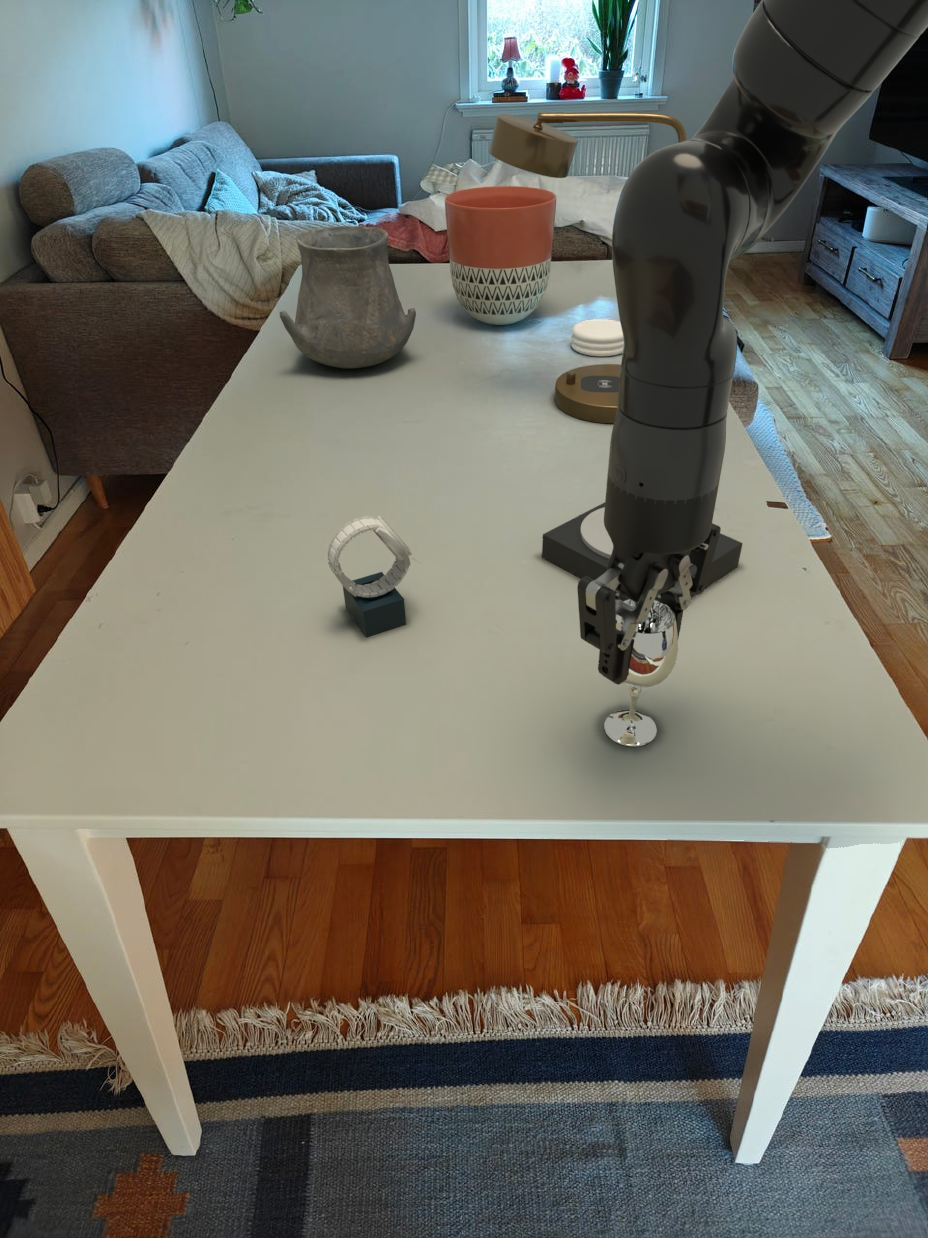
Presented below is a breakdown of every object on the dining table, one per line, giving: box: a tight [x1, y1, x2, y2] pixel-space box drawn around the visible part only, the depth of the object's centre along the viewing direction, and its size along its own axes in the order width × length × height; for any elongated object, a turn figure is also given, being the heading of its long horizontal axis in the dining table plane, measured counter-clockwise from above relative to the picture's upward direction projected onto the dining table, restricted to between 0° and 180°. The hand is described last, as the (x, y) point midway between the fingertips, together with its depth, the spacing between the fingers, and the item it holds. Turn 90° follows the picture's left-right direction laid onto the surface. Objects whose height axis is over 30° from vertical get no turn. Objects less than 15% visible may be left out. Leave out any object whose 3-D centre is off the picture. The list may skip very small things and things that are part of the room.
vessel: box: [279, 225, 417, 369], centre depth 141 cm, size 22×22×20 cm
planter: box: [444, 185, 557, 326], centre depth 155 cm, size 20×20×21 cm
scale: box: [541, 501, 743, 602], centre depth 92 cm, size 16×14×4 cm
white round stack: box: [570, 318, 624, 357], centre depth 147 cm, size 10×10×4 cm
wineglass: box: [603, 599, 679, 748], centre depth 69 cm, size 6×6×12 cm
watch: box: [327, 514, 413, 638], centre depth 83 cm, size 6×8×11 cm
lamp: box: [488, 111, 688, 425], centre depth 118 cm, size 17×27×38 cm, turn 83°
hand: (638, 659), depth 68 cm, fingers closed on wineglass, 5 cm apart
